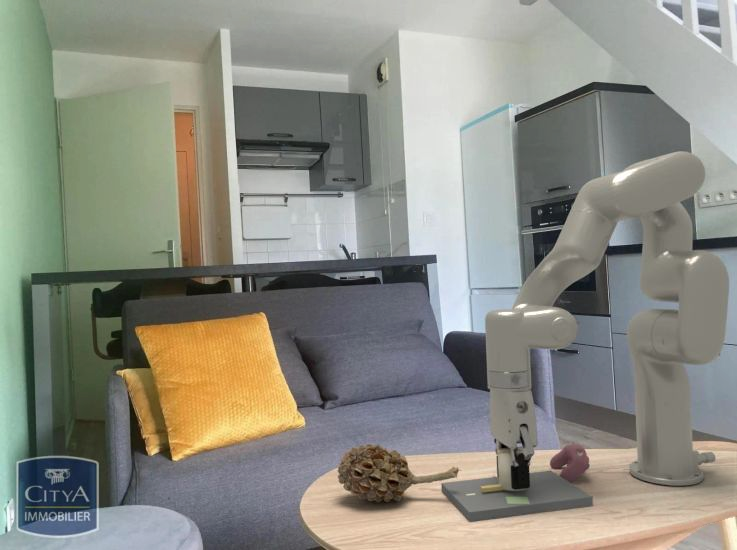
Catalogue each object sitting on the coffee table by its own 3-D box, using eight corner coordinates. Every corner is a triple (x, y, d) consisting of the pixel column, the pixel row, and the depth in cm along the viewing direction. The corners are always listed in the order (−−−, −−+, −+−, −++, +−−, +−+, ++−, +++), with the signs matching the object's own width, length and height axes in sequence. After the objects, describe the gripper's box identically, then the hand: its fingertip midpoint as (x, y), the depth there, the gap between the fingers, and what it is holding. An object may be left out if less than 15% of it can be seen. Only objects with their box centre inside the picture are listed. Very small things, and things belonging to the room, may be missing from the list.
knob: (520, 482, 106) (518, 445, 106) (533, 492, 102) (531, 453, 102) (476, 487, 105) (474, 450, 105) (487, 498, 100) (485, 458, 100)
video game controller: (581, 492, 109) (597, 458, 109) (558, 481, 110) (574, 447, 109) (568, 474, 119) (583, 443, 119) (547, 464, 119) (561, 433, 119)
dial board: (551, 478, 113) (550, 470, 113) (593, 505, 99) (592, 496, 99) (441, 491, 108) (441, 482, 108) (469, 521, 94) (469, 511, 94)
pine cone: (336, 513, 100) (334, 455, 100) (340, 492, 110) (338, 439, 110) (466, 509, 100) (463, 450, 100) (458, 488, 109) (456, 435, 109)
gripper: (553, 386, 96) (557, 497, 96) (508, 370, 113) (511, 465, 113) (510, 389, 94) (514, 503, 94) (471, 373, 111) (475, 469, 111)
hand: (513, 481), depth 103 cm, fingers closed on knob, 5 cm apart
